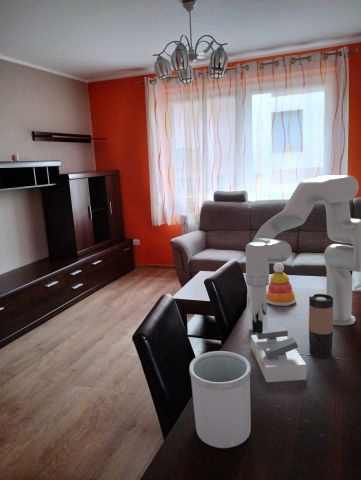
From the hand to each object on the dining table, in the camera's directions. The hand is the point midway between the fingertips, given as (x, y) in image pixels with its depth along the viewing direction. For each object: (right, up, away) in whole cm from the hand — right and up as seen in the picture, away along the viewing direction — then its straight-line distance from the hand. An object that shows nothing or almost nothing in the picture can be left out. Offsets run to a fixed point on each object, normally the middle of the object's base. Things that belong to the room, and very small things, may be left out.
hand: (257, 331), depth 127 cm
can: (+5, -5, +22) cm, 23 cm away
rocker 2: (+5, -3, -10) cm, 12 cm away
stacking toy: (+21, +1, +50) cm, 54 cm away
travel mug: (+22, -8, +1) cm, 23 cm away
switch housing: (+6, -10, -3) cm, 12 cm away
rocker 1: (+5, -1, +1) cm, 5 cm away
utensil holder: (-16, -17, -33) cm, 40 cm away
